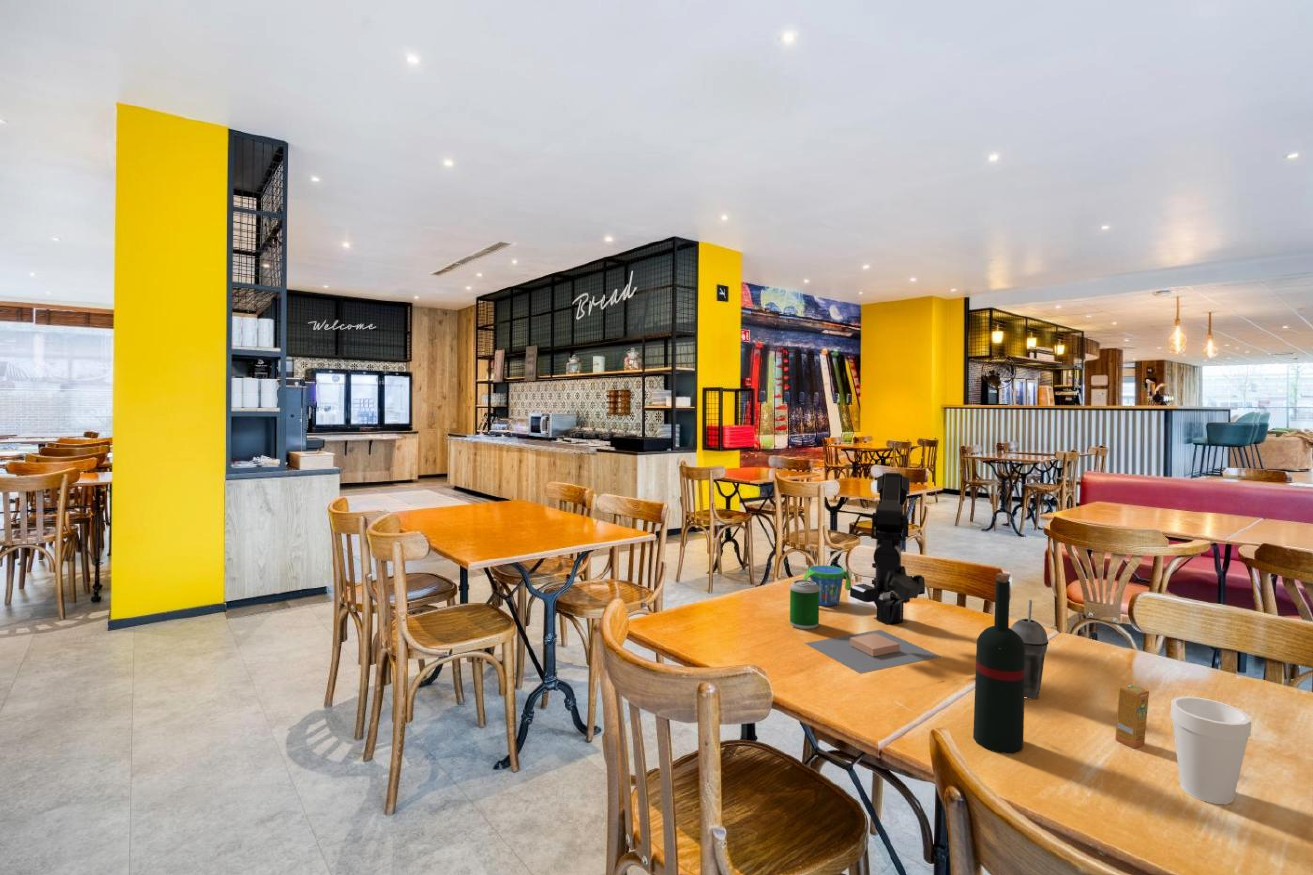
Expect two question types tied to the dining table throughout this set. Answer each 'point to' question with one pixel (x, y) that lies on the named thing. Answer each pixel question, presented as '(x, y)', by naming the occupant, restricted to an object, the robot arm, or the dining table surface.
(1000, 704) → the wine bottle
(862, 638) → the terracotta tile
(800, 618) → the soda can
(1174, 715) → the foam cup
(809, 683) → the dining table surface
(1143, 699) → the supplement box
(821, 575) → the snack cup
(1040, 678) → the beverage cup
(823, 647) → the slate mat
